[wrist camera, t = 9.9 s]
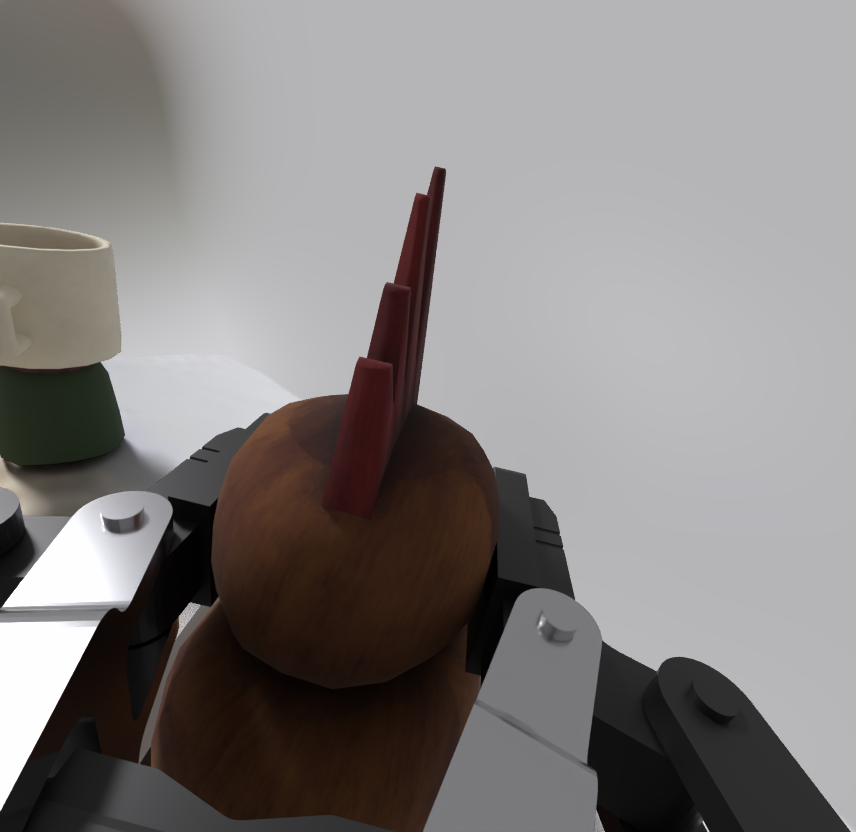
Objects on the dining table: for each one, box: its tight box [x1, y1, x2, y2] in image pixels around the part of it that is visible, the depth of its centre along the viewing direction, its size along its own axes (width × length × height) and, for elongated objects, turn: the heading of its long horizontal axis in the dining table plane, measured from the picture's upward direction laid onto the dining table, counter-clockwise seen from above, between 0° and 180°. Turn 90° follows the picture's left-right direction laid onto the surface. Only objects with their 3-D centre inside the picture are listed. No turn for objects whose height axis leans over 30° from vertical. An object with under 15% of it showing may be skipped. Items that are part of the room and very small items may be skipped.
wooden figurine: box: [151, 167, 500, 832], centre depth 9 cm, size 7×6×15 cm
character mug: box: [0, 223, 125, 465], centre depth 26 cm, size 11×7×13 cm, turn 19°
